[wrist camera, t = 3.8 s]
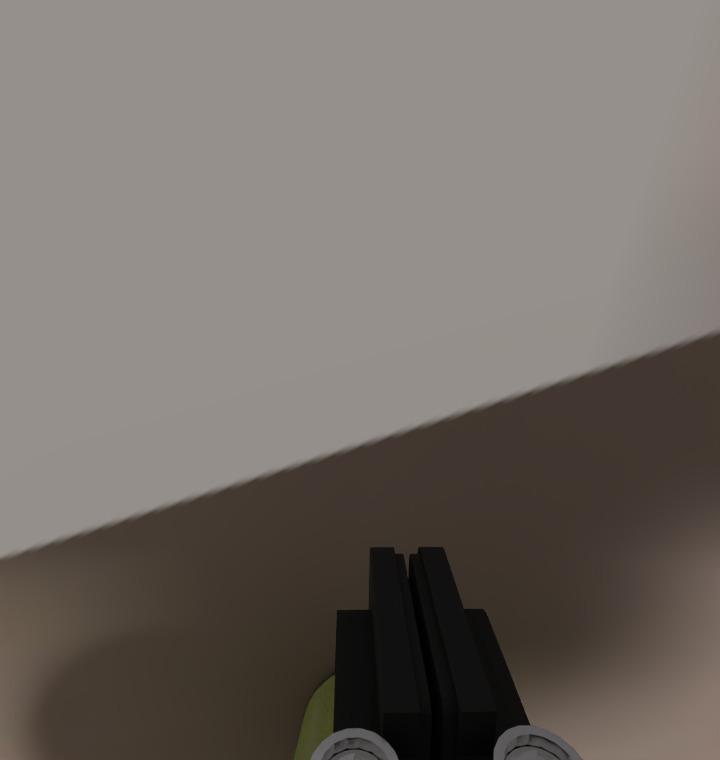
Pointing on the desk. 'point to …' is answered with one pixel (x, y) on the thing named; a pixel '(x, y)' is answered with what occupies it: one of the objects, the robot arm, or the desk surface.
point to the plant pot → (317, 720)
